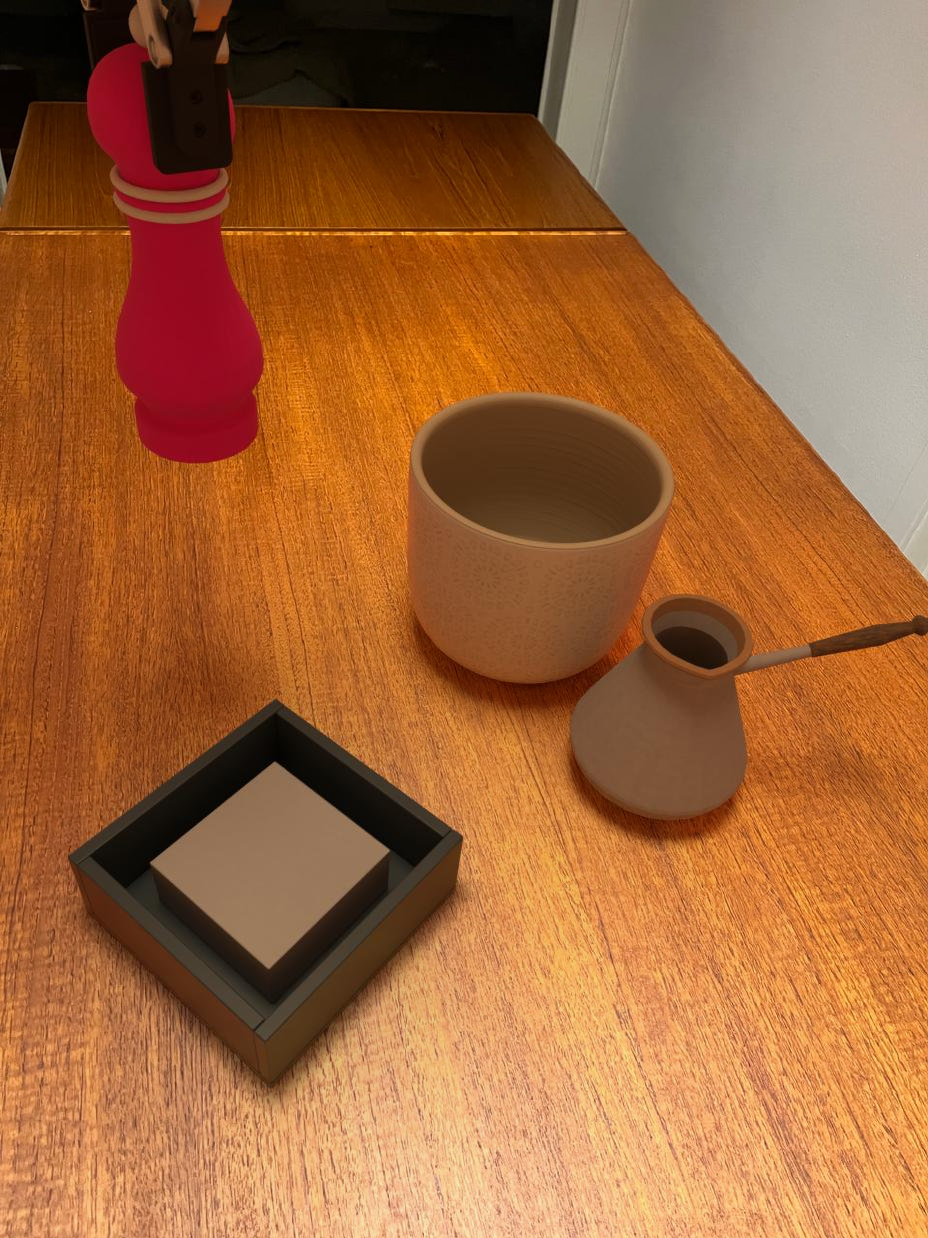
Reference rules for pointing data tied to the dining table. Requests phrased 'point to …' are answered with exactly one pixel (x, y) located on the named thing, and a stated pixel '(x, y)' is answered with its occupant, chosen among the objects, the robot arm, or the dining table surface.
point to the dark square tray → (192, 969)
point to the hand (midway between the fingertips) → (163, 135)
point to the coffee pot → (685, 707)
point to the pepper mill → (174, 283)
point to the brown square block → (272, 879)
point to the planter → (531, 531)
